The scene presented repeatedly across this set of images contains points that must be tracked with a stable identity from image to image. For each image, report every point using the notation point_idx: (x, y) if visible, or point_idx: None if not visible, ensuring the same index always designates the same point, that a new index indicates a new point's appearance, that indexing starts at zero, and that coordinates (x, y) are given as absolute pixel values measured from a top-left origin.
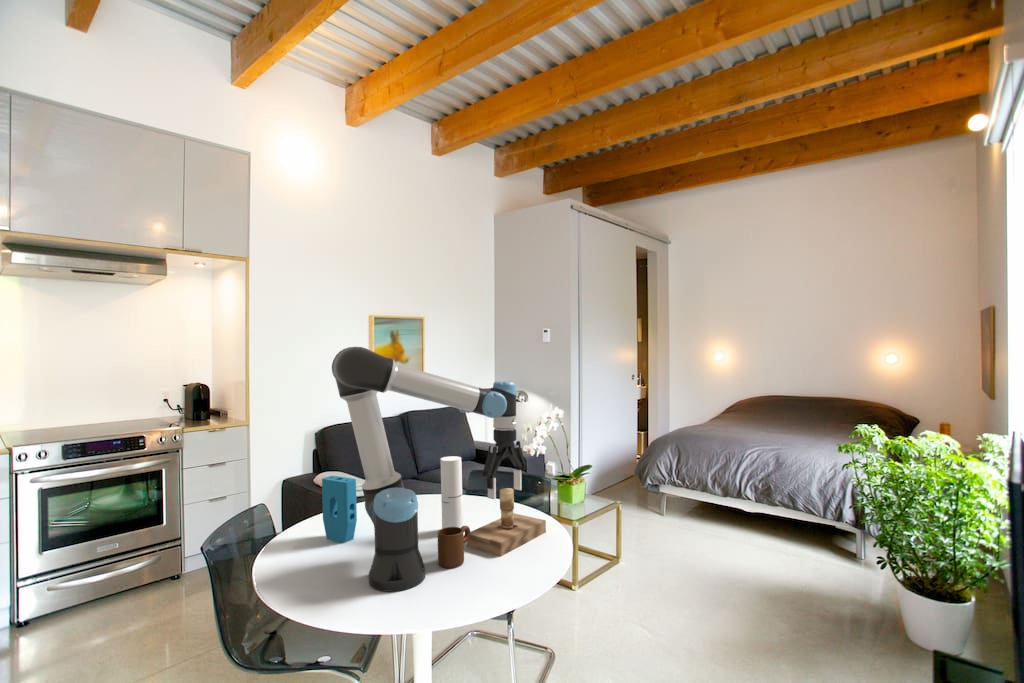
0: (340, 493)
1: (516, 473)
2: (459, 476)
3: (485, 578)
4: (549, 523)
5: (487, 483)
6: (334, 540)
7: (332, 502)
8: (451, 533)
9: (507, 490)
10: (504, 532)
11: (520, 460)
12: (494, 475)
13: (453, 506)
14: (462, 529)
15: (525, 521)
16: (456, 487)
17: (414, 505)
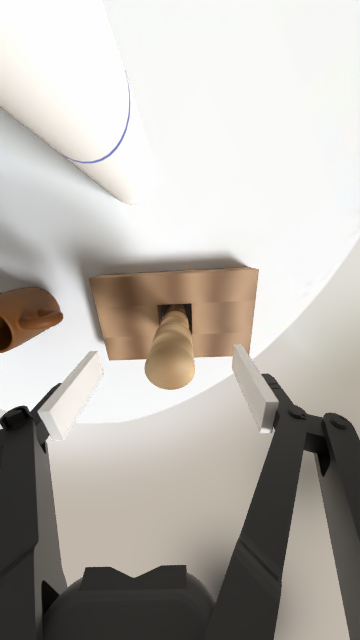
0: None
1: (255, 401)
2: (10, 81)
3: (57, 374)
4: (288, 323)
5: (42, 401)
6: None
7: None
8: (10, 307)
9: (167, 375)
10: (148, 335)
11: (325, 483)
12: (46, 454)
13: (80, 169)
14: (25, 328)
15: (222, 329)
16: (42, 133)
17: None
